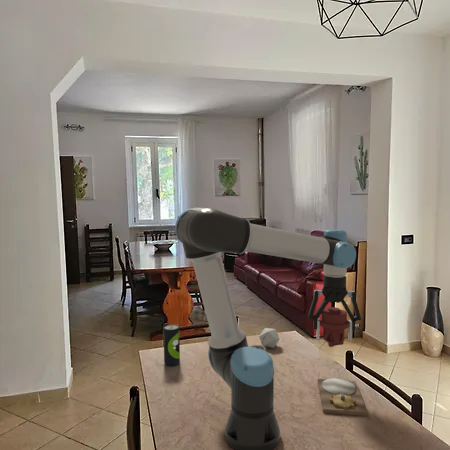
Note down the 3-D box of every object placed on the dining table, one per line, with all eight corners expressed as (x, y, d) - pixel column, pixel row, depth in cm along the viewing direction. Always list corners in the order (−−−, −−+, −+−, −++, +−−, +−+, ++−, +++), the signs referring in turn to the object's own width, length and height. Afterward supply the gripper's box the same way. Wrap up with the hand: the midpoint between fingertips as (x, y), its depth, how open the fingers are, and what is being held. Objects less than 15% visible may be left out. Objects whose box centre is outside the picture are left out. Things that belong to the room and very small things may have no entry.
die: (258, 344, 176) (254, 332, 170) (272, 332, 179) (268, 320, 173) (269, 355, 170) (266, 343, 164) (284, 343, 173) (281, 331, 167)
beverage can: (164, 360, 157) (163, 324, 156) (179, 359, 159) (178, 323, 157) (164, 367, 151) (163, 330, 150) (180, 365, 152) (179, 328, 151)
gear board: (367, 416, 117) (367, 405, 116) (323, 412, 119) (323, 402, 118) (355, 384, 136) (355, 375, 136) (317, 381, 138) (317, 372, 138)
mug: (268, 366, 152) (268, 349, 151) (254, 369, 149) (254, 352, 148) (255, 356, 161) (255, 341, 160) (241, 360, 158) (241, 344, 157)
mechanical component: (316, 338, 138) (344, 339, 137) (321, 349, 128) (352, 349, 127) (316, 304, 137) (345, 305, 136) (322, 312, 127) (352, 313, 126)
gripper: (366, 273, 133) (365, 336, 135) (300, 272, 136) (299, 333, 138) (372, 278, 126) (370, 344, 127) (301, 276, 129) (301, 341, 130)
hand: (333, 339), depth 132 cm, fingers closed on mechanical component, 10 cm apart
